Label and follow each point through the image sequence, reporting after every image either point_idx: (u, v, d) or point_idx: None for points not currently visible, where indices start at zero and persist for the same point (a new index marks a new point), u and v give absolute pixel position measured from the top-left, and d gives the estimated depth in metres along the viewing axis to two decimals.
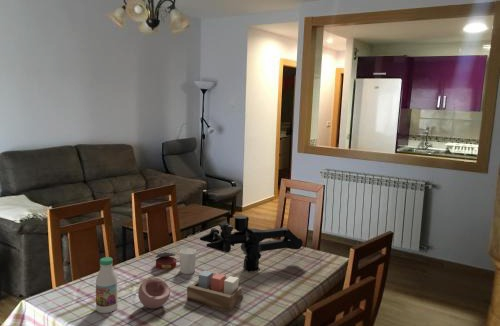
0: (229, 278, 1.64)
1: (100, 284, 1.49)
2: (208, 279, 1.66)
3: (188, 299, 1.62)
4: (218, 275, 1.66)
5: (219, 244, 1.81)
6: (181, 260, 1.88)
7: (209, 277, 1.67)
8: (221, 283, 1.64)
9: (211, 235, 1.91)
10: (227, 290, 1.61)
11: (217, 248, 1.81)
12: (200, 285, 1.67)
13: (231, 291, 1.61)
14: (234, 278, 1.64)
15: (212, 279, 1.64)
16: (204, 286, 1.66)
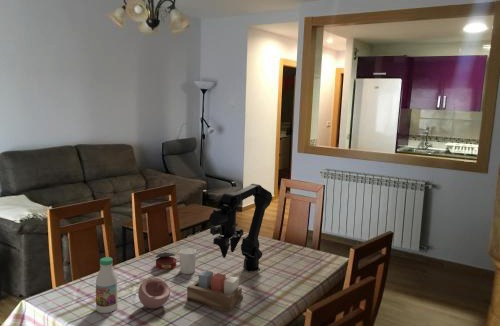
0: (229, 278, 1.64)
1: (100, 284, 1.49)
2: (208, 279, 1.66)
3: (188, 299, 1.62)
4: (218, 275, 1.66)
5: (223, 245, 1.76)
6: (181, 260, 1.88)
7: (209, 277, 1.67)
8: (221, 283, 1.64)
9: (231, 239, 1.85)
10: (227, 290, 1.61)
11: (225, 249, 1.75)
12: (200, 285, 1.67)
13: (231, 291, 1.61)
14: (234, 278, 1.64)
15: (212, 279, 1.64)
16: (204, 286, 1.66)
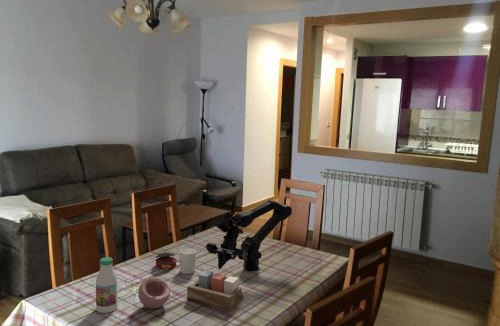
0: (229, 278, 1.64)
1: (100, 284, 1.49)
2: (208, 279, 1.66)
3: (188, 299, 1.62)
4: (218, 275, 1.66)
5: None
6: (181, 260, 1.88)
7: (209, 277, 1.67)
8: (221, 283, 1.64)
9: None
10: (227, 290, 1.61)
11: None
12: (200, 285, 1.67)
13: (231, 291, 1.61)
14: (234, 278, 1.64)
15: (212, 279, 1.64)
16: (204, 286, 1.66)
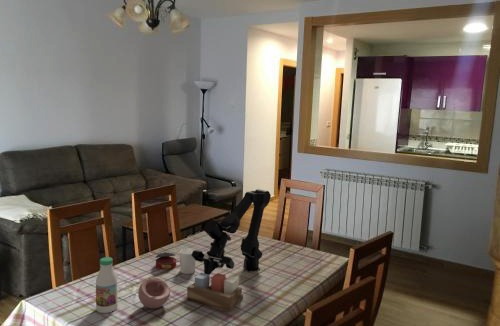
0: (229, 278, 1.64)
1: (100, 284, 1.49)
2: (204, 282, 1.63)
3: (188, 299, 1.62)
4: (218, 275, 1.66)
5: None
6: (181, 260, 1.88)
7: (205, 280, 1.64)
8: (221, 283, 1.64)
9: None
10: (227, 290, 1.61)
11: None
12: None
13: (231, 291, 1.61)
14: (234, 278, 1.64)
15: (212, 279, 1.64)
16: None
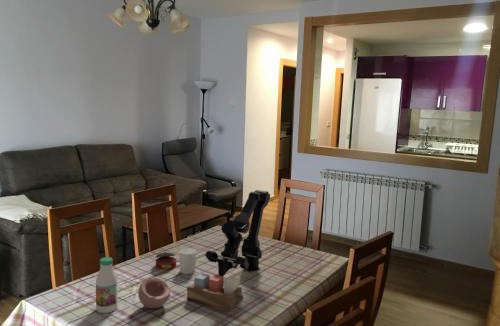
0: (229, 278, 1.64)
1: (100, 284, 1.49)
2: (204, 282, 1.63)
3: (188, 299, 1.62)
4: (216, 276, 1.65)
5: None
6: (181, 260, 1.88)
7: (205, 280, 1.64)
8: (219, 284, 1.62)
9: None
10: (227, 290, 1.61)
11: None
12: None
13: (231, 291, 1.61)
14: (234, 278, 1.64)
15: (210, 281, 1.62)
16: None
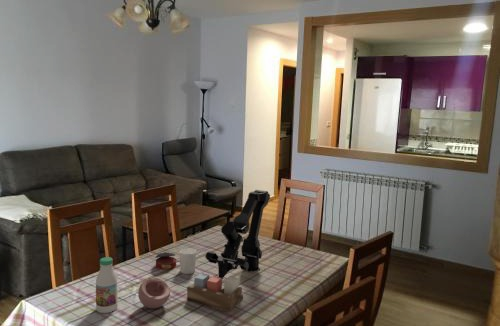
0: (229, 278, 1.64)
1: (100, 284, 1.49)
2: (204, 282, 1.63)
3: (188, 299, 1.62)
4: (215, 278, 1.64)
5: None
6: (181, 260, 1.88)
7: (205, 280, 1.64)
8: (217, 286, 1.61)
9: None
10: (227, 290, 1.61)
11: None
12: None
13: (231, 291, 1.61)
14: (234, 278, 1.64)
15: (208, 282, 1.61)
16: None
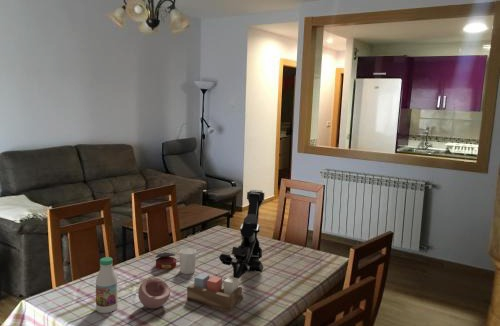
0: (229, 278, 1.63)
1: (100, 284, 1.49)
2: (204, 282, 1.63)
3: (188, 299, 1.62)
4: (215, 278, 1.64)
5: (241, 269, 1.68)
6: (181, 260, 1.88)
7: (205, 280, 1.64)
8: (217, 286, 1.61)
9: (237, 267, 1.68)
10: (227, 290, 1.61)
11: (243, 273, 1.68)
12: None
13: (231, 291, 1.60)
14: (234, 278, 1.64)
15: (208, 282, 1.61)
16: None
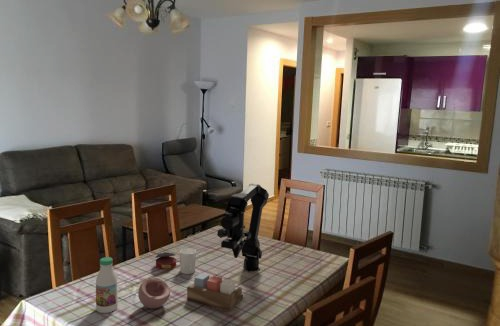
0: (225, 281, 1.61)
1: (100, 284, 1.49)
2: (204, 282, 1.63)
3: (188, 299, 1.62)
4: (215, 278, 1.64)
5: None
6: (181, 260, 1.88)
7: (205, 280, 1.64)
8: (217, 286, 1.61)
9: None
10: (224, 293, 1.58)
11: (237, 249, 1.76)
12: None
13: None
14: (231, 281, 1.61)
15: (208, 282, 1.61)
16: None
